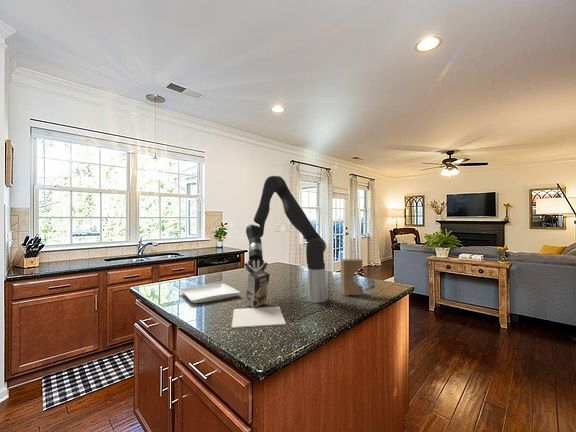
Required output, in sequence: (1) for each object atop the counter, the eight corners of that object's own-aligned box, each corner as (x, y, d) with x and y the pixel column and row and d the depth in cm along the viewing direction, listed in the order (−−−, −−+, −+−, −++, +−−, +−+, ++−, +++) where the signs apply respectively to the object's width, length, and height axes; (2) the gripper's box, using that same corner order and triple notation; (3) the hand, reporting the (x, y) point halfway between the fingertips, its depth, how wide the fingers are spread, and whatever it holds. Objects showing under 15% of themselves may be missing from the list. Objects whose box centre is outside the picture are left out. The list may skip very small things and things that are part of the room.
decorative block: (358, 292, 163) (358, 258, 163) (362, 295, 157) (362, 260, 157) (340, 293, 161) (340, 259, 161) (344, 296, 155) (344, 260, 155)
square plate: (241, 298, 154) (241, 291, 154) (190, 307, 138) (190, 299, 138) (223, 288, 176) (223, 282, 176) (178, 295, 161) (178, 288, 161)
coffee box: (253, 308, 135) (256, 278, 131) (245, 303, 139) (247, 273, 135) (267, 302, 142) (270, 273, 138) (259, 297, 146) (261, 269, 142)
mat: (279, 307, 136) (279, 306, 136) (285, 324, 115) (285, 323, 115) (233, 310, 133) (233, 309, 133) (231, 328, 111) (231, 327, 111)
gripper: (243, 248, 150) (243, 275, 138) (267, 248, 152) (269, 274, 140) (243, 257, 156) (243, 283, 143) (267, 256, 158) (269, 282, 145)
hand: (256, 279), depth 142 cm, fingers closed
